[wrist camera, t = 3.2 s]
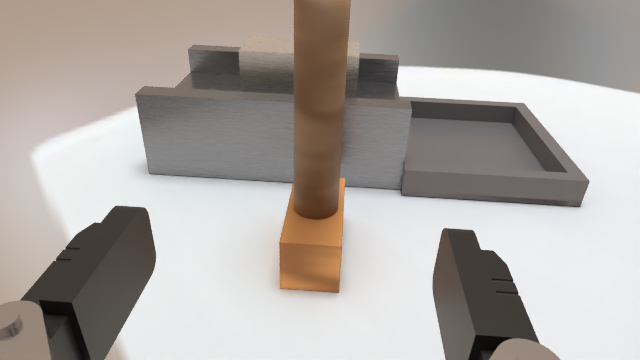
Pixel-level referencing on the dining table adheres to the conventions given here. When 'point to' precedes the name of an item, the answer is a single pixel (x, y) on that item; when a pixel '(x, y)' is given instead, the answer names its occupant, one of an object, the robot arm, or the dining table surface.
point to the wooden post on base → (316, 148)
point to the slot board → (268, 124)
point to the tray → (486, 155)
